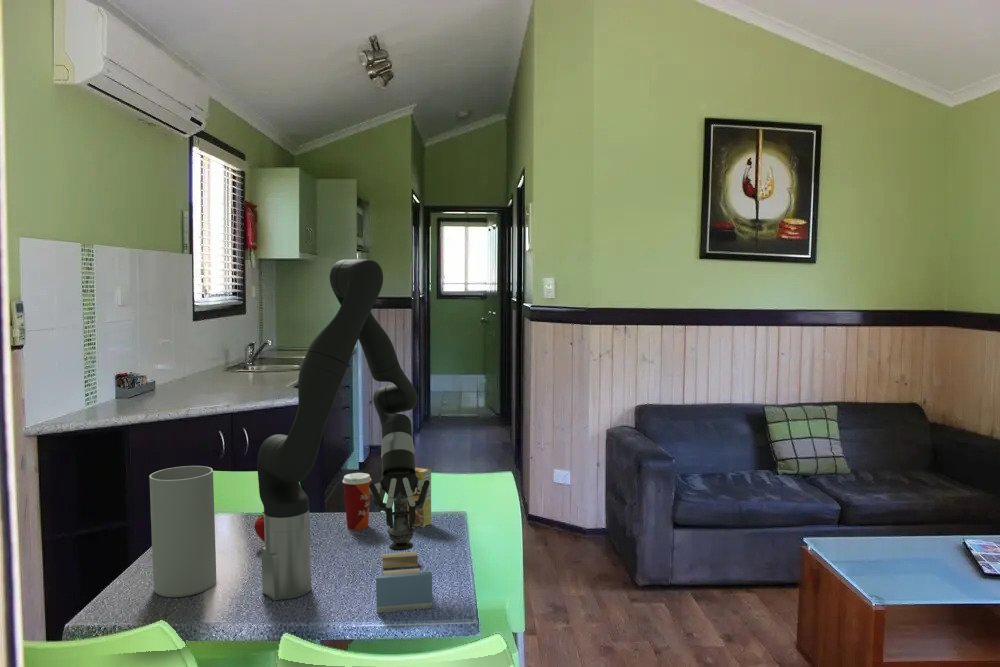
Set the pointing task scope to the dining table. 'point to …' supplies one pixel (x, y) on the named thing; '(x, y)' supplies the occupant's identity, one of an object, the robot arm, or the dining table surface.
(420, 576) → the bezel holder
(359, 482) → the paper cup
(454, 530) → the dining table surface
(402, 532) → the dark statuette
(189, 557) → the cylinder vase
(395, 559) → the oak gap blocks
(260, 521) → the strawberry
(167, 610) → the dining table surface
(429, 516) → the candy box
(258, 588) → the dining table surface
